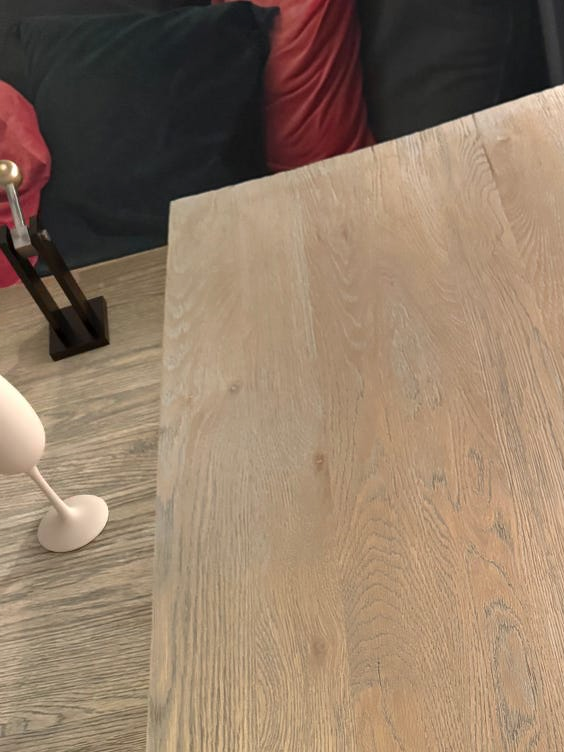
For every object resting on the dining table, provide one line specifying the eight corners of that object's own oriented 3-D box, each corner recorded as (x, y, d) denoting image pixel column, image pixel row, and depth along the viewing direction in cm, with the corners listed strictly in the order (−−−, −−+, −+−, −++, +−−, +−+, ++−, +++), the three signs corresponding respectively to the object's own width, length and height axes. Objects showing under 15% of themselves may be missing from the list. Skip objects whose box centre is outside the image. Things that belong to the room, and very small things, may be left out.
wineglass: (24, 536, 111) (-94, 402, 94) (77, 486, 114) (-28, 348, 97) (70, 563, 108) (-44, 429, 90) (123, 511, 111) (23, 372, 93)
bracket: (53, 318, 135) (-13, 218, 122) (106, 302, 135) (47, 199, 122) (53, 361, 129) (-15, 261, 116) (109, 344, 129) (47, 241, 116)
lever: (-2, 176, 124) (-17, 158, 121) (24, 168, 124) (10, 149, 121) (21, 263, 122) (6, 247, 118) (48, 255, 122) (34, 239, 119)
